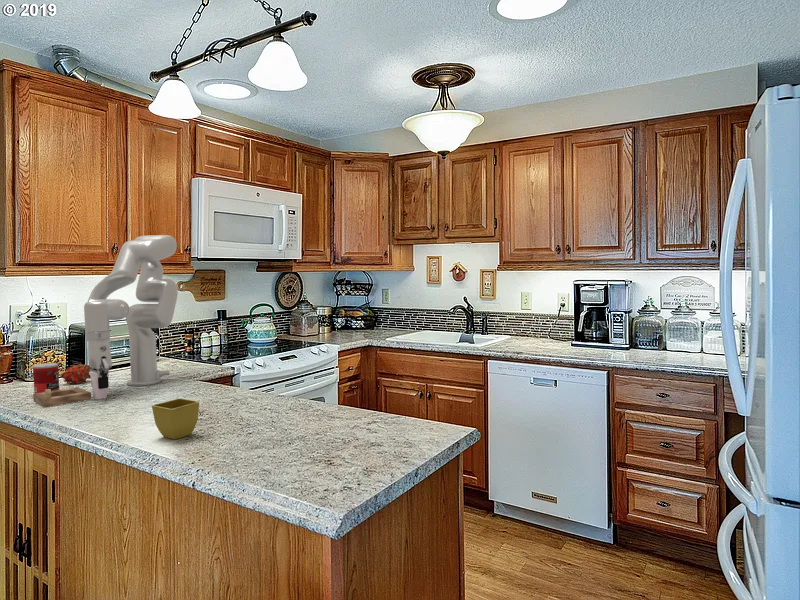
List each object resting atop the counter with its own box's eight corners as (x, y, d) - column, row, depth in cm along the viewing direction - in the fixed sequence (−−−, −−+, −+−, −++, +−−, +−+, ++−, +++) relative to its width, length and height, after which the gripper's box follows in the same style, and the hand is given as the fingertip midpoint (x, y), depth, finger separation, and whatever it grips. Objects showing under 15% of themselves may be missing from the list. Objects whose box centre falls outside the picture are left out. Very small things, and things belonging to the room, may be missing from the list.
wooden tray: (78, 393, 200) (77, 378, 199) (91, 399, 190) (90, 384, 190) (33, 400, 189) (32, 385, 189) (44, 407, 180) (43, 391, 179)
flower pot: (172, 443, 140) (171, 408, 140) (152, 438, 145) (150, 404, 144) (201, 434, 147) (200, 401, 147) (181, 429, 152) (179, 398, 152)
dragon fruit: (97, 384, 223) (63, 393, 215) (90, 370, 227) (58, 379, 220) (96, 370, 218) (62, 378, 211) (90, 356, 223) (56, 364, 215)
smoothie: (115, 396, 194) (113, 357, 193) (99, 400, 188) (97, 360, 187) (101, 395, 196) (99, 357, 195) (85, 399, 190) (83, 359, 189)
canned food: (50, 396, 195) (49, 366, 195) (29, 397, 195) (27, 366, 195) (64, 392, 203) (63, 362, 202) (43, 392, 203) (41, 363, 203)
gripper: (118, 337, 188) (120, 388, 189) (100, 333, 199) (103, 382, 200) (94, 339, 182) (96, 392, 183) (77, 335, 194) (80, 385, 195)
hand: (100, 386), depth 192 cm, fingers closed on smoothie, 6 cm apart
